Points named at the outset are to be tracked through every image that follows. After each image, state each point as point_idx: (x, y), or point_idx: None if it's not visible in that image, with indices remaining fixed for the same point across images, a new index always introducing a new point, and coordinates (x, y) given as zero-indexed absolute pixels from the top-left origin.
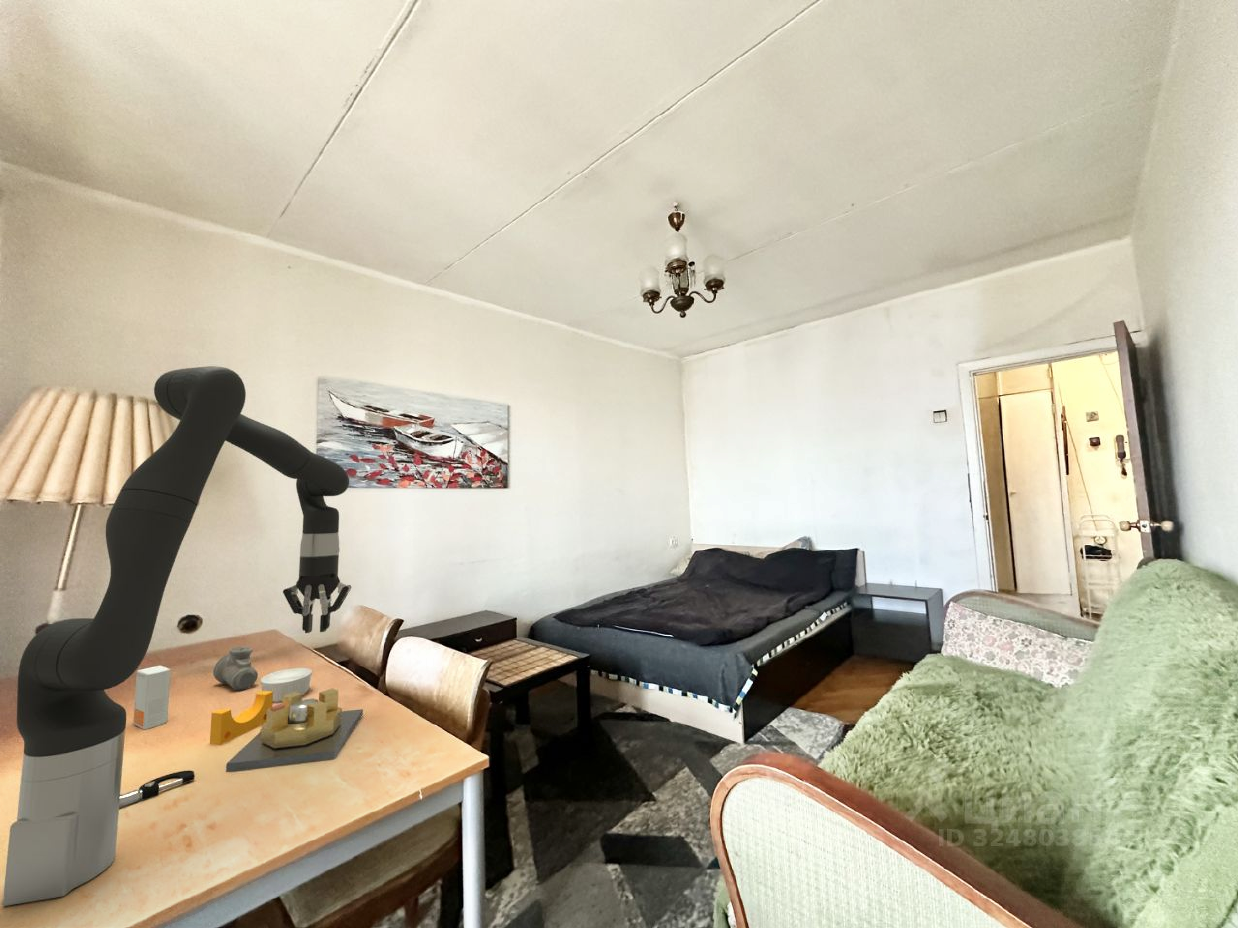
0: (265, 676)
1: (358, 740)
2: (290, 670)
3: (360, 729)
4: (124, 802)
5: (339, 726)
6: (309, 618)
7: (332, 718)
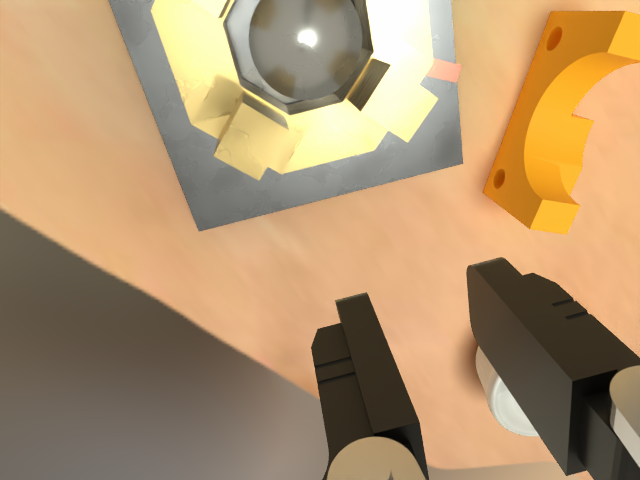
0: None
1: (79, 27)
2: None
3: (136, 119)
4: None
5: None
6: (549, 369)
7: (157, 11)
